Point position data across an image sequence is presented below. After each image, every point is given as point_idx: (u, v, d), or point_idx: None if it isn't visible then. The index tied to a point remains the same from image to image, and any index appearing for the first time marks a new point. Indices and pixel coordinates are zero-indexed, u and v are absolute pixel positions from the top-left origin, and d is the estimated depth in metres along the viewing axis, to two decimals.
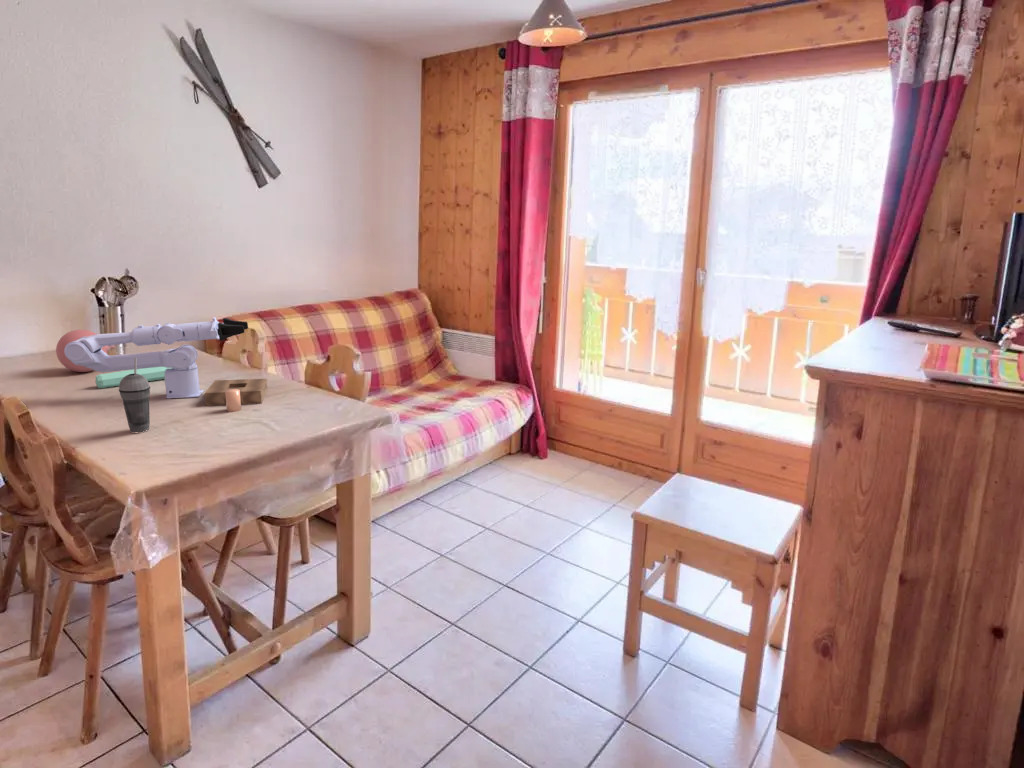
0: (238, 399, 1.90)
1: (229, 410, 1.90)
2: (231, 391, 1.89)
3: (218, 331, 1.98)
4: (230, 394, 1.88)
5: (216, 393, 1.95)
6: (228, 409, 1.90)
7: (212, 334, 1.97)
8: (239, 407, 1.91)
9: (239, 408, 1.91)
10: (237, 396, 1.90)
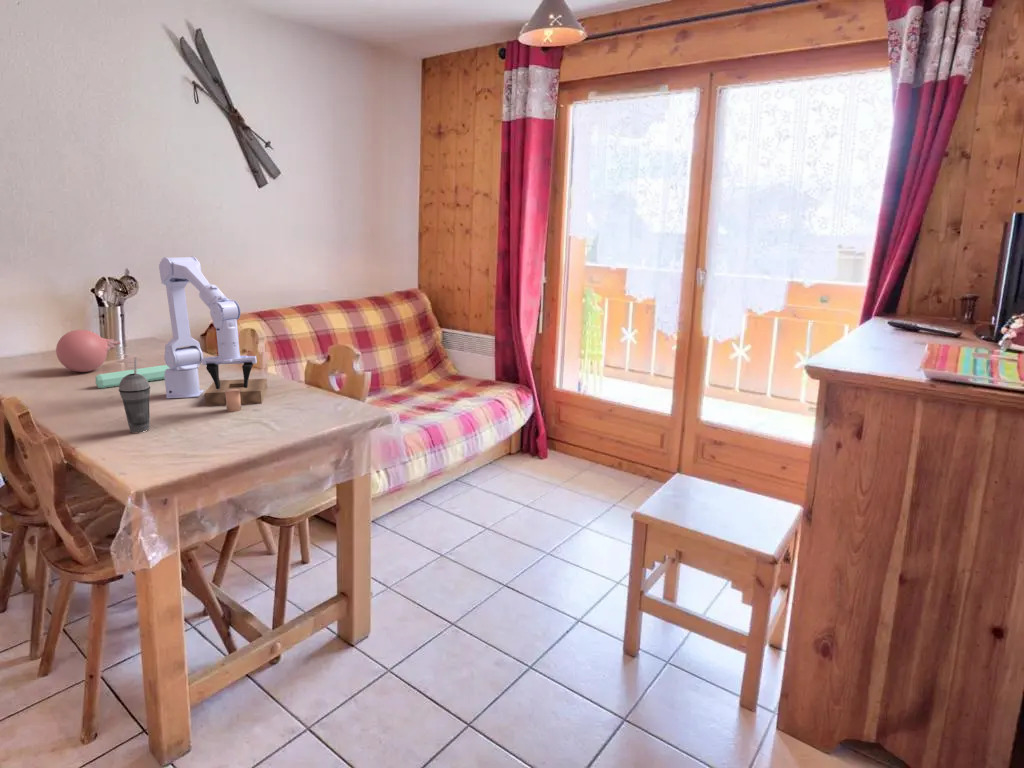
0: (238, 399, 1.90)
1: (229, 410, 1.90)
2: (231, 391, 1.89)
3: (207, 365, 1.86)
4: (230, 394, 1.88)
5: (216, 393, 1.95)
6: (228, 409, 1.90)
7: None
8: (239, 407, 1.91)
9: (239, 408, 1.91)
10: (237, 396, 1.90)
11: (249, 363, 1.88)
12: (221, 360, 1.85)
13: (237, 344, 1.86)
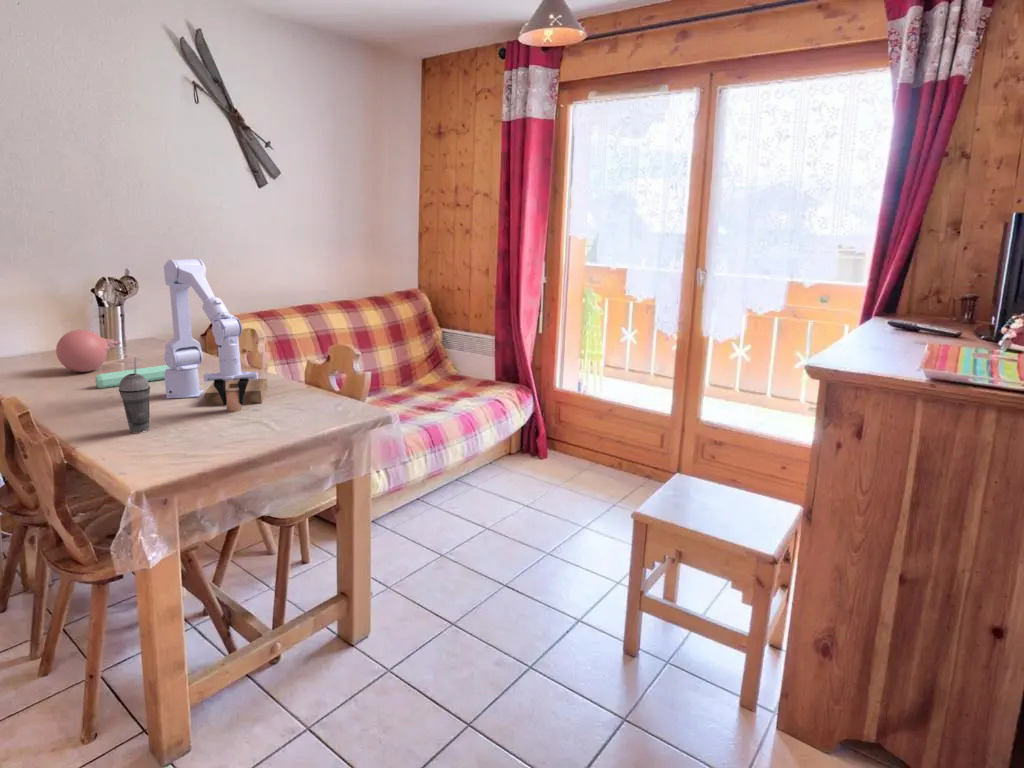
0: (238, 399, 1.90)
1: (229, 410, 1.90)
2: (231, 391, 1.89)
3: (214, 381, 1.88)
4: (230, 394, 1.88)
5: (216, 393, 1.95)
6: (228, 409, 1.90)
7: None
8: (239, 407, 1.91)
9: (239, 408, 1.91)
10: (237, 396, 1.90)
11: (245, 379, 1.89)
12: (222, 377, 1.86)
13: (238, 361, 1.88)
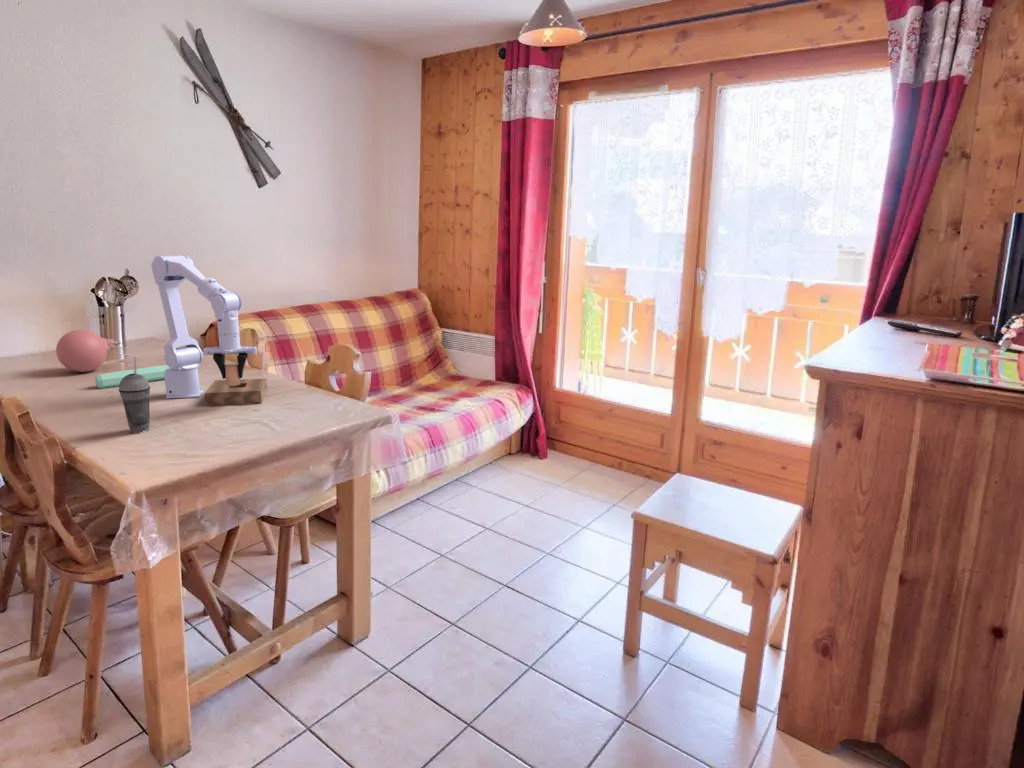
0: (237, 373, 1.93)
1: (228, 384, 1.92)
2: (230, 365, 1.92)
3: None
4: (229, 369, 1.91)
5: (216, 393, 1.95)
6: (227, 383, 1.92)
7: None
8: (238, 382, 1.93)
9: (238, 382, 1.93)
10: (236, 370, 1.92)
11: (244, 354, 1.92)
12: (222, 350, 1.89)
13: (238, 335, 1.90)
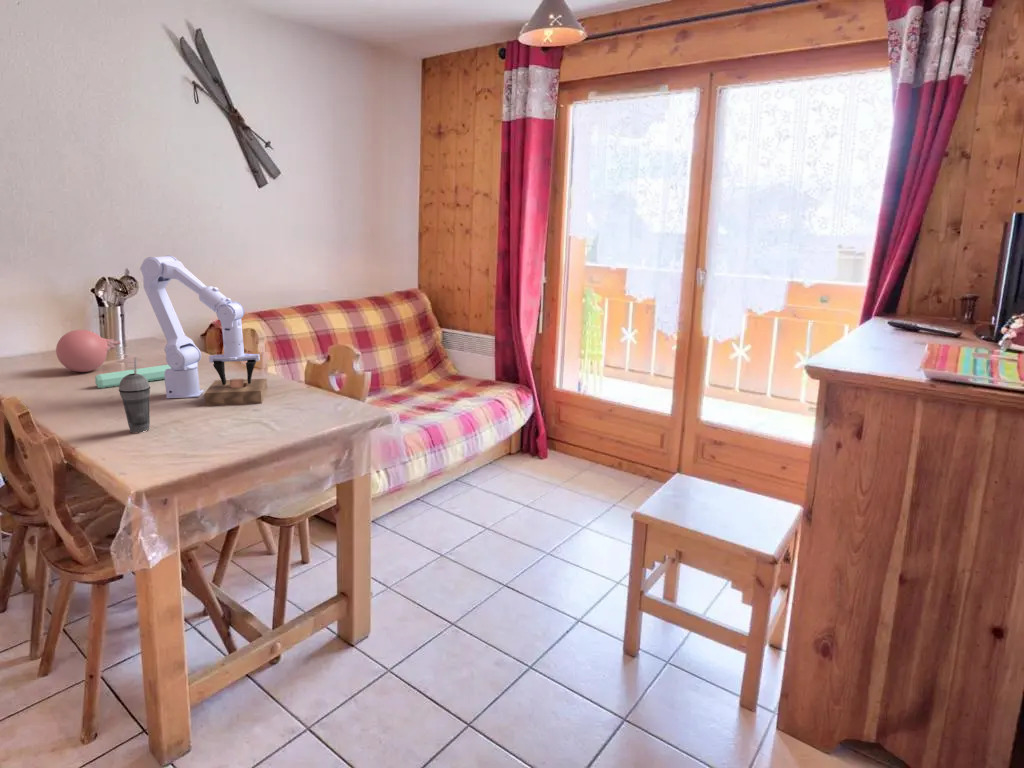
0: None
1: None
2: (235, 380, 2.02)
3: None
4: (234, 383, 2.01)
5: (216, 393, 1.95)
6: None
7: None
8: None
9: None
10: (241, 384, 2.02)
11: (252, 361, 2.02)
12: (227, 358, 1.98)
13: (241, 343, 2.00)
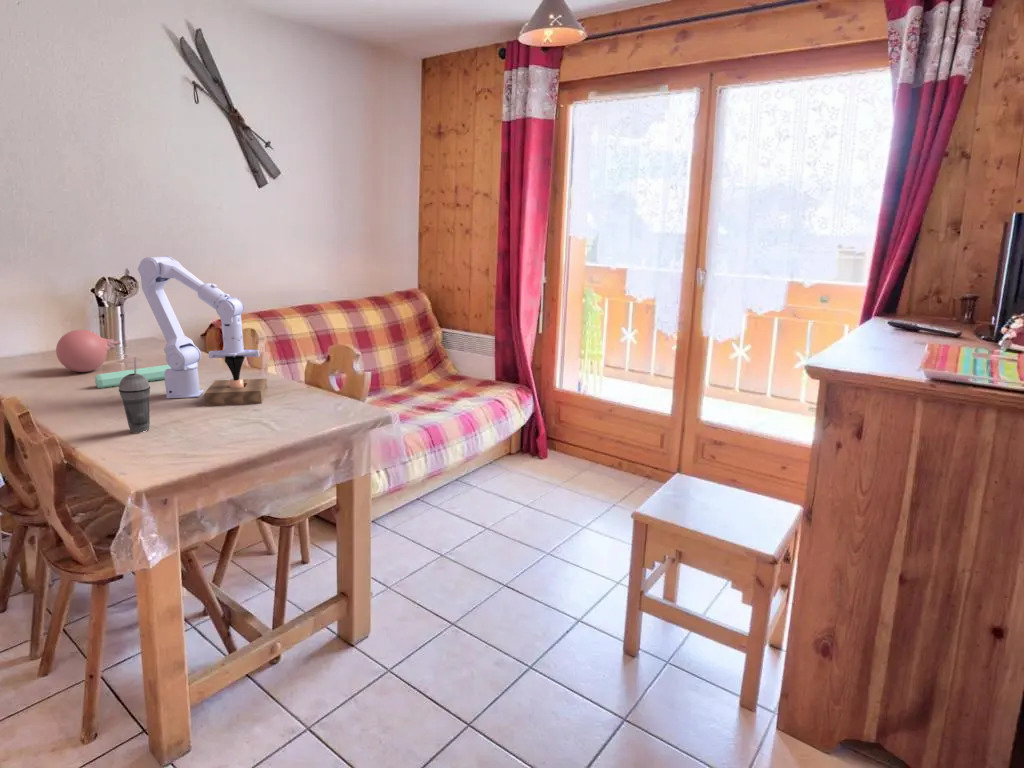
0: None
1: None
2: (235, 380, 2.02)
3: (225, 358, 2.00)
4: (234, 383, 2.01)
5: (216, 393, 1.95)
6: None
7: None
8: None
9: None
10: (241, 385, 2.02)
11: (240, 357, 2.01)
12: (226, 353, 1.98)
13: (241, 339, 2.00)
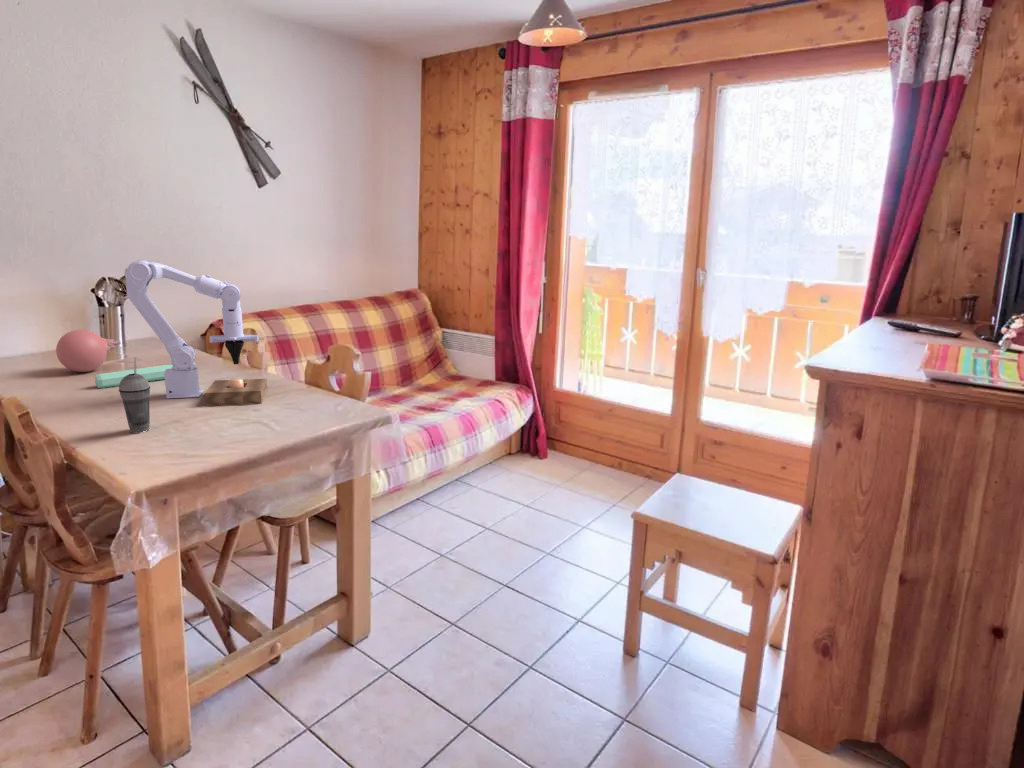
0: None
1: None
2: (235, 380, 2.02)
3: None
4: (234, 383, 2.01)
5: (216, 393, 1.95)
6: None
7: None
8: None
9: None
10: (241, 385, 2.02)
11: (240, 341, 2.07)
12: (226, 338, 2.04)
13: (241, 324, 2.06)
